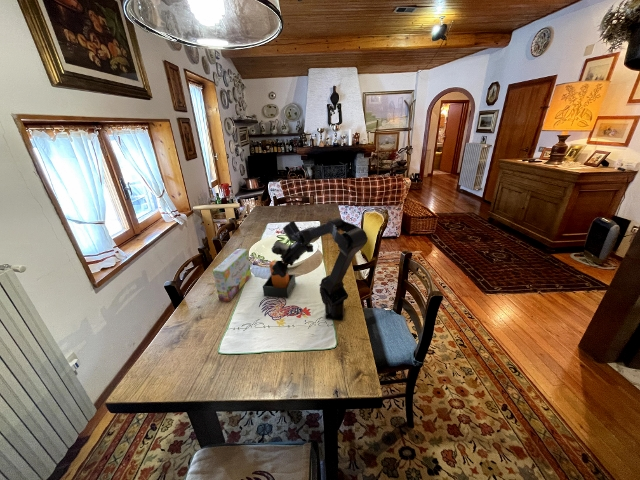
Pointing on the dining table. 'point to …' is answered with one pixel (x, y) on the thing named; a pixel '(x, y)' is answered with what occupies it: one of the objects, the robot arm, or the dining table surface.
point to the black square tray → (278, 288)
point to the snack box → (232, 274)
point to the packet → (279, 278)
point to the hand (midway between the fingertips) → (274, 271)
